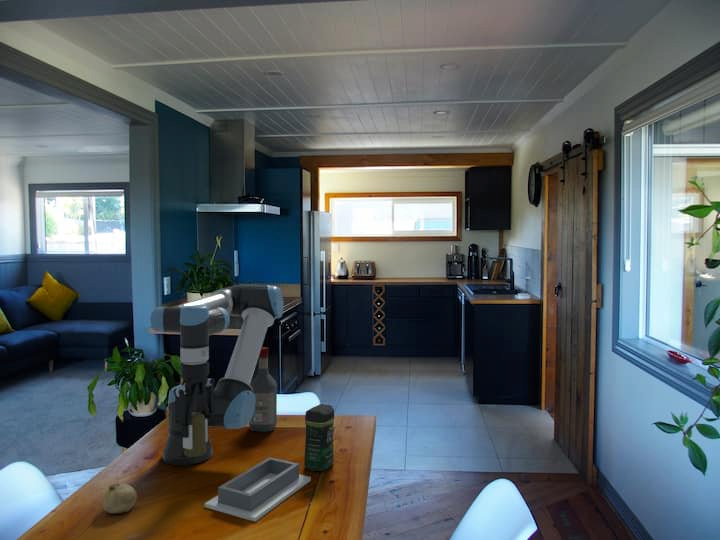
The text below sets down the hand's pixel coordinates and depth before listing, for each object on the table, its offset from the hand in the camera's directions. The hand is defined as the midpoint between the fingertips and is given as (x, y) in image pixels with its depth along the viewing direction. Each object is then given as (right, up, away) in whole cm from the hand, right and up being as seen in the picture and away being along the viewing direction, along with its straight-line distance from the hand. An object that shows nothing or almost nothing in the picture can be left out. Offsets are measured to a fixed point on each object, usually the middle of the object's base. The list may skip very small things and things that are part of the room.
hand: (195, 444), depth 146 cm
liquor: (+10, -11, +50) cm, 52 cm away
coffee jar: (+33, -12, +16) cm, 39 cm away
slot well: (+19, -12, -2) cm, 22 cm away
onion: (-15, -13, -13) cm, 24 cm away
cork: (0, -3, 0) cm, 3 cm away
